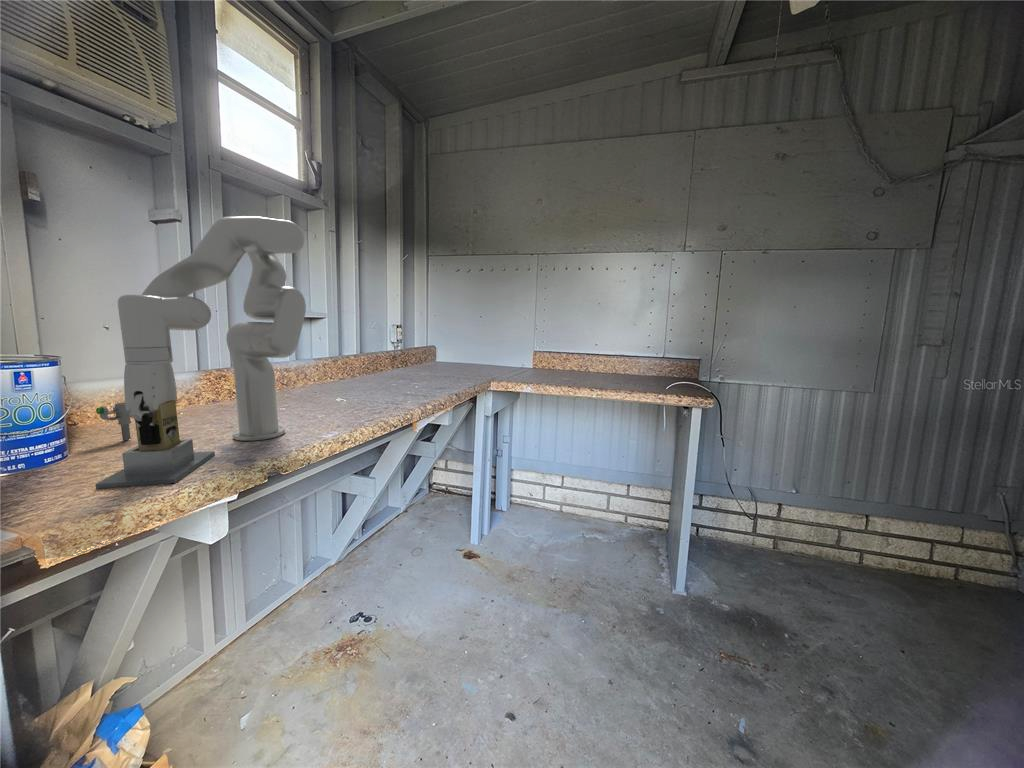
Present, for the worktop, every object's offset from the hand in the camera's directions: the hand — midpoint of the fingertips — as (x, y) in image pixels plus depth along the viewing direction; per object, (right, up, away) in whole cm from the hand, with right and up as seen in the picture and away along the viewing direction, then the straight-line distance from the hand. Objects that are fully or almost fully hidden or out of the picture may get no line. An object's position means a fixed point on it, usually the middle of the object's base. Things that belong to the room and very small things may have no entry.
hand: (159, 439), depth 89 cm
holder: (0, -7, +1) cm, 7 cm away
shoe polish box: (0, -4, +1) cm, 4 cm away
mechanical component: (-27, -3, +22) cm, 35 cm away
